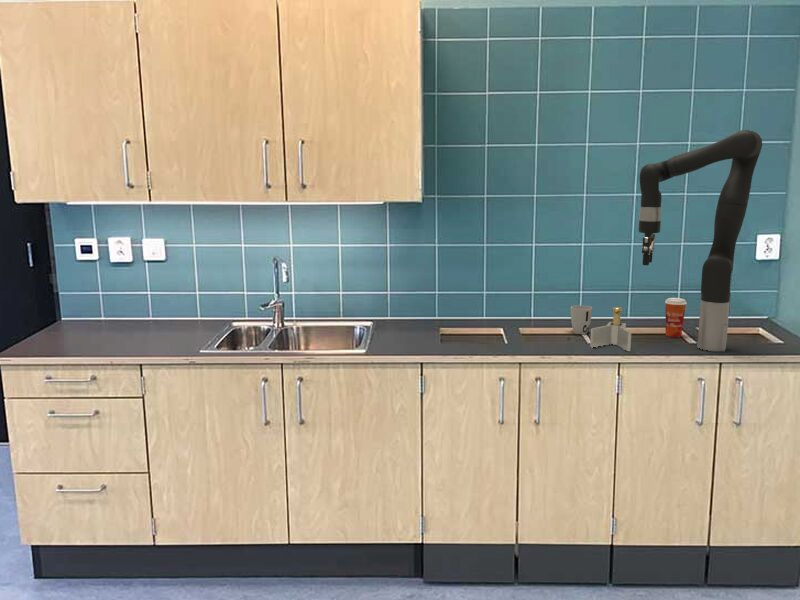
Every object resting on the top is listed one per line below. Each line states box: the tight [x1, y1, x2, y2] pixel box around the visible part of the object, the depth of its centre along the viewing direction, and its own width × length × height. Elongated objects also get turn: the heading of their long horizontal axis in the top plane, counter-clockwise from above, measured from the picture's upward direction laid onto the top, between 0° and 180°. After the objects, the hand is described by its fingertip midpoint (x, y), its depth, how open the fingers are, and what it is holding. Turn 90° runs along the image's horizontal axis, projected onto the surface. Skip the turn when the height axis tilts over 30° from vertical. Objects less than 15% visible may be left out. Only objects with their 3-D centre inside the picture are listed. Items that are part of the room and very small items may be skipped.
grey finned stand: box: [589, 321, 632, 352], centre depth 258 cm, size 14×14×7 cm
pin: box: [611, 306, 623, 326], centre depth 262 cm, size 3×3×13 cm
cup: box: [570, 304, 593, 335], centre depth 278 cm, size 8×8×10 cm
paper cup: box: [664, 297, 688, 338], centre depth 272 cm, size 8×8×14 cm
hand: (647, 263), depth 265 cm, fingers open, 8 cm apart
